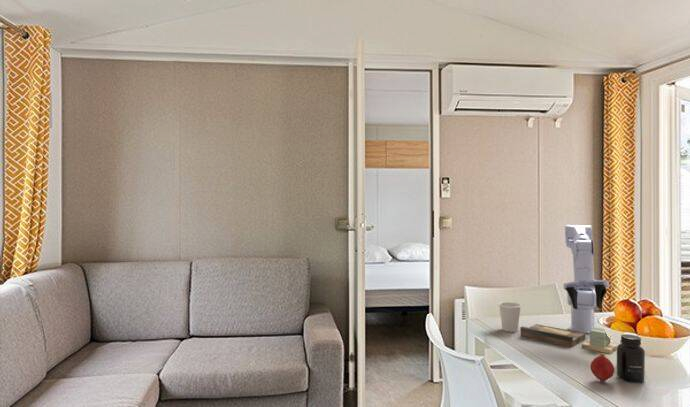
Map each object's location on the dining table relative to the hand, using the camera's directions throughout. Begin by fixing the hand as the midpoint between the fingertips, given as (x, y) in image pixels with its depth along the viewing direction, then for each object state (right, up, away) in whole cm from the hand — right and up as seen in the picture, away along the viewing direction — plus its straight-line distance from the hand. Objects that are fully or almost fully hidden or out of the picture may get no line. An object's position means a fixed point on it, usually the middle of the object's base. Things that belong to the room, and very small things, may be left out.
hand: (586, 307), depth 159 cm
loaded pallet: (+4, -14, -1) cm, 14 cm away
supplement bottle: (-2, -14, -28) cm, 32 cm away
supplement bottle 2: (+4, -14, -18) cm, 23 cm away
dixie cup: (-19, -14, +21) cm, 32 cm away
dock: (-7, -13, +11) cm, 19 cm away
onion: (-12, -14, -30) cm, 35 cm away
